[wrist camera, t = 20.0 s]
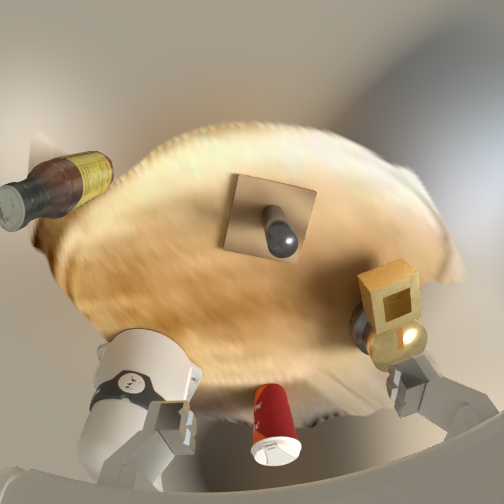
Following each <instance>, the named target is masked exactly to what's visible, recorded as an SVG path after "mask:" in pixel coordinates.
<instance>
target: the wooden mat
mask: <svg viewBox="0 0 504 504" xmlns="http://www.w3.org/2000/svg"><path fill="white" fill-rule="evenodd" d="M316 194H317V192H316V191H313V190H309V189H305V188H300V187H296V186H292V185H288V184H284V183H279V182H275V181H270V180H266V179H261V178H257V177H252V176H247V175H242V174H239V177H238V181H237V186H236V191H235V195H234V200H233V205H232V209H231V214H230V219H229V224H228V229H227V233H226V238H225V243H224V249H223V250H227V251H232V252H237V253H242V254H247V255H252V256H257V257H263V258H268V259H273V260H278V261H283V262H288V263H294V264H297V262H298V258H299V255H300V251H301V248H302V244H303V241H304V237H305V234H306V230H307V227H308V223H309V220H310V216H311V212H312V209H313V205H314V201H315V198H316ZM269 205H277V206H279V207H281V208H282V210H283V211H284V213H285V215H286V217H287V219H288V221H289V223H290V225H291V227H292V229H293V230H294V232H295V234H296V236H297V238H298V248H297V250H296V252H295V253H294V254H293V255H292V256H290V257H288V258H277V257H275V256H273V255H272V254H271V253H270V251H269V249H268V246H267V241H266V237H265V233H264V229H263V224H262V220H261V213H262V211H263V209H264V208H265V207H267V206H269Z"/></svg>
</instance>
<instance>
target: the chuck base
mask: <svg viewBox="0 0 504 504" xmlns="http://www.w3.org/2000/svg"><path fill="white" fill-rule="evenodd" d="M417 320H418V318H417ZM367 322H368V320H367V318H366V317H365V314H364V308H363V303H362V302H361V303H360V304H359V305H358V306H357V308H356V309H355V311H354V313H353V315H352V318H351V321H350V330H351V334H352V336H353V338H354V340H355V342H356V344H357V346H358V348H359V349H360V350H361V351H362V352H363V353H365V354H367V355H369V353H368V351H367V349H366V348H365V346H364V344H363V340H362V334H363V330H364V328H365V326H366V324H367Z"/></svg>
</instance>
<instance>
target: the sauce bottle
mask: <svg viewBox="0 0 504 504" xmlns="http://www.w3.org/2000/svg"><path fill="white" fill-rule="evenodd" d="M113 173H114V172H113V166H112V162H111V160H110V159H109V158H108V157H107V156H106V155H104V154H103V153H100V152H98V151H88V152H82V153H77V154H72V155H67V156H63V157H59V158H54V159H52V160H50V161H46V162H43V163H40V164H39V165H37V166H36V167H35V168H34V169H33V170H32V171H31V172H30V173H29V174H28V176H27V178H26V179H25V180H23V181H20V182H12V183H8V184H5V185H3V186H1V187H0V225H1V227H2V228H3V229H5V230H6V231H9V232H14V231H17V230H19V229H21V228H23V227H25V226H26V225H27V224H28V223H29V222H30V221H31V220H33V219H36V218H39V217H43V218H50V219H58V218H61V217H63V216H65V215H67V214H69V213H70V212H72V211H74V210H75V209H77V208H79V207H81V206H83V205H84V204H86V203H87V202H89V201H91V200H93V199H95V198H96V197H98V196H100V195H102V194H103V193H104V192H105V191H106V190H107V188H108V187H109V186H110V184H111V183H112V181H113Z"/></svg>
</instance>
